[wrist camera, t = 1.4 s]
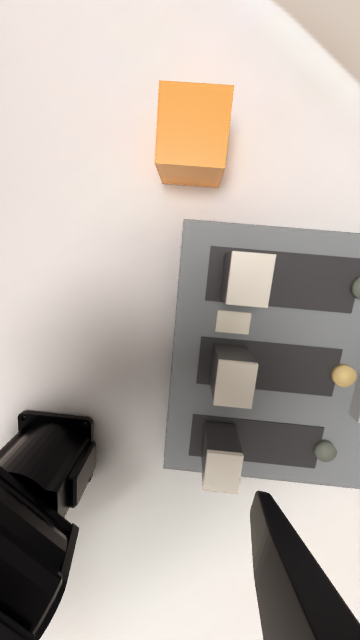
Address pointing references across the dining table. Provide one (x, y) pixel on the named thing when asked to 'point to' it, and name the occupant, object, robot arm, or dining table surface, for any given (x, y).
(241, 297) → the block
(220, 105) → the orange cube
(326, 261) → the panel
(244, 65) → the dining table surface
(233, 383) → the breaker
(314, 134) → the dining table surface
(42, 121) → the dining table surface
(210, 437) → the breaker
